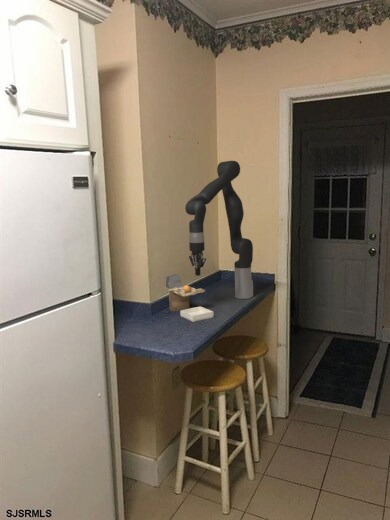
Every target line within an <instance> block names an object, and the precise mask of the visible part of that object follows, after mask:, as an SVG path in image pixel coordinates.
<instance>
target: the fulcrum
mask: <svg viewBox="0 0 390 520" xmlns="http://www.w3.org/2000/svg"><path fill="white" fill-rule="evenodd" d="M168 292H169V293H168V300H169V301H168V302H169V310H170V311H171V312H173V313H174V312H177V311H179V312H180V311H181V310H186V309H190V308H191V307H190V295H189V296H181V295H179V294H176V293H174V292H173V291H172V290H169V291H168Z"/></svg>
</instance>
